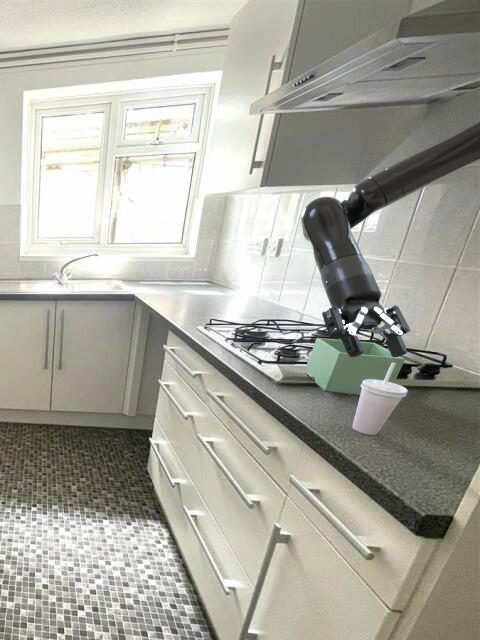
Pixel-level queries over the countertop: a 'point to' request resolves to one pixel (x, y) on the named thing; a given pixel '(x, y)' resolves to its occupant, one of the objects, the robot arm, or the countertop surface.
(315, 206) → the robot arm
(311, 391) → the countertop surface
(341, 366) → the bin
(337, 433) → the countertop surface
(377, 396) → the smoothie
